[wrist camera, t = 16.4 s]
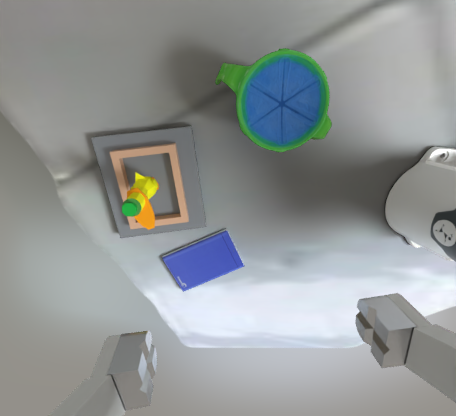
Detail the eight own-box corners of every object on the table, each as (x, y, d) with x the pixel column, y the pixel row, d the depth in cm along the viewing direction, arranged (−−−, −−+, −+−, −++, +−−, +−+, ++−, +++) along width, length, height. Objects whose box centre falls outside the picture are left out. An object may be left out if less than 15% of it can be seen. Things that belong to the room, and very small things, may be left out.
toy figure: (171, 200, 41) (160, 237, 30) (150, 208, 41) (131, 247, 30) (153, 160, 39) (133, 184, 27) (130, 168, 39) (101, 196, 28)
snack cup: (199, 103, 38) (198, 104, 28) (240, 32, 35) (255, 7, 25) (283, 161, 42) (306, 179, 33) (326, 102, 39) (365, 103, 30)
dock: (191, 125, 39) (190, 127, 36) (205, 223, 45) (206, 231, 42) (94, 136, 38) (86, 139, 35) (123, 233, 44) (117, 242, 41)
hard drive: (183, 292, 49) (244, 267, 48) (161, 258, 46) (227, 231, 45) (183, 287, 50) (243, 262, 49) (163, 254, 47) (226, 226, 46)
